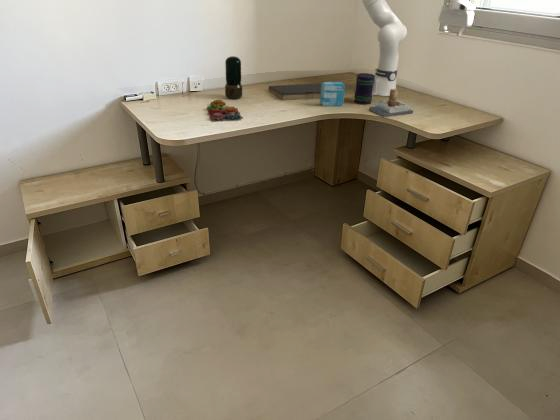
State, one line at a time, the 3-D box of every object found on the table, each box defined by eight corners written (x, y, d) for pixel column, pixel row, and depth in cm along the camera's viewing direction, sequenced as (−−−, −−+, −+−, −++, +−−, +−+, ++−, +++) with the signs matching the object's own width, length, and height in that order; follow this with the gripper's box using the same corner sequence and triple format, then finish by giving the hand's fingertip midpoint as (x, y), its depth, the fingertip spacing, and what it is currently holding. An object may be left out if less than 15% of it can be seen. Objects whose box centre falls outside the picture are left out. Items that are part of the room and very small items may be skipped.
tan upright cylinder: (381, 107, 228) (384, 88, 223) (392, 106, 230) (395, 87, 225) (390, 111, 222) (393, 92, 217) (400, 110, 225) (404, 90, 220)
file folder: (282, 94, 236) (268, 84, 255) (282, 101, 238) (268, 91, 257) (336, 91, 246) (319, 81, 266) (335, 98, 248) (318, 88, 268)
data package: (321, 106, 231) (323, 83, 225) (319, 104, 235) (321, 81, 229) (343, 106, 233) (345, 83, 227) (340, 103, 237) (343, 81, 231)
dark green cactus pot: (223, 95, 242) (222, 55, 232) (240, 94, 245) (239, 54, 234) (227, 100, 235) (226, 58, 224) (244, 99, 237) (243, 58, 226)
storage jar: (374, 102, 241) (378, 75, 234) (364, 105, 235) (368, 78, 227) (360, 98, 247) (363, 72, 239) (350, 101, 241) (353, 74, 233)
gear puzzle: (204, 104, 228) (203, 96, 226) (234, 103, 232) (233, 95, 230) (210, 123, 202) (210, 114, 200) (244, 121, 206) (244, 113, 204)
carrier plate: (368, 109, 228) (370, 101, 226) (397, 106, 236) (398, 98, 233) (384, 117, 218) (385, 108, 216) (412, 113, 226) (414, 104, 223)
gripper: (438, 3, 223) (433, 31, 230) (469, 7, 207) (462, 37, 214) (447, 3, 226) (441, 31, 233) (478, 7, 210) (471, 37, 217)
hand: (451, 34), depth 223 cm, fingers open, 8 cm apart
